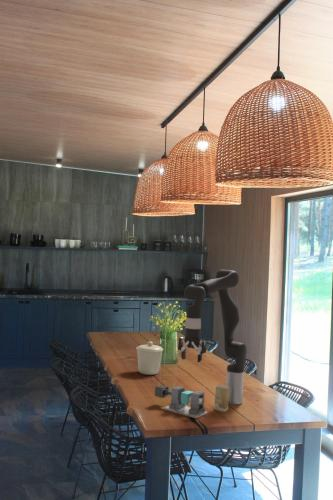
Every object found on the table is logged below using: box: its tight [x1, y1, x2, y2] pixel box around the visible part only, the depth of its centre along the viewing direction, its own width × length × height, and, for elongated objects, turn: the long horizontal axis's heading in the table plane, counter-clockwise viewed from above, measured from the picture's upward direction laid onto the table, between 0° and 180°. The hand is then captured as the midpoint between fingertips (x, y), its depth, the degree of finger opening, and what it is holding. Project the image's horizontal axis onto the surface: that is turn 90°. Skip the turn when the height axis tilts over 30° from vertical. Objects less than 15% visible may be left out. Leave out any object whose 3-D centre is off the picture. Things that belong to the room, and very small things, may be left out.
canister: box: [135, 340, 164, 376], centre depth 338 cm, size 18×18×21 cm
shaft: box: [154, 384, 203, 404], centre depth 262 cm, size 28×5×5 cm, turn 54°
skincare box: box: [213, 384, 230, 413], centre depth 266 cm, size 6×4×12 cm
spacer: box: [181, 390, 193, 406], centre depth 259 cm, size 6×4×6 cm, turn 144°
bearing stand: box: [162, 385, 208, 419], centre depth 260 cm, size 11×20×11 cm, turn 54°
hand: (191, 360), depth 246 cm, fingers open, 8 cm apart
